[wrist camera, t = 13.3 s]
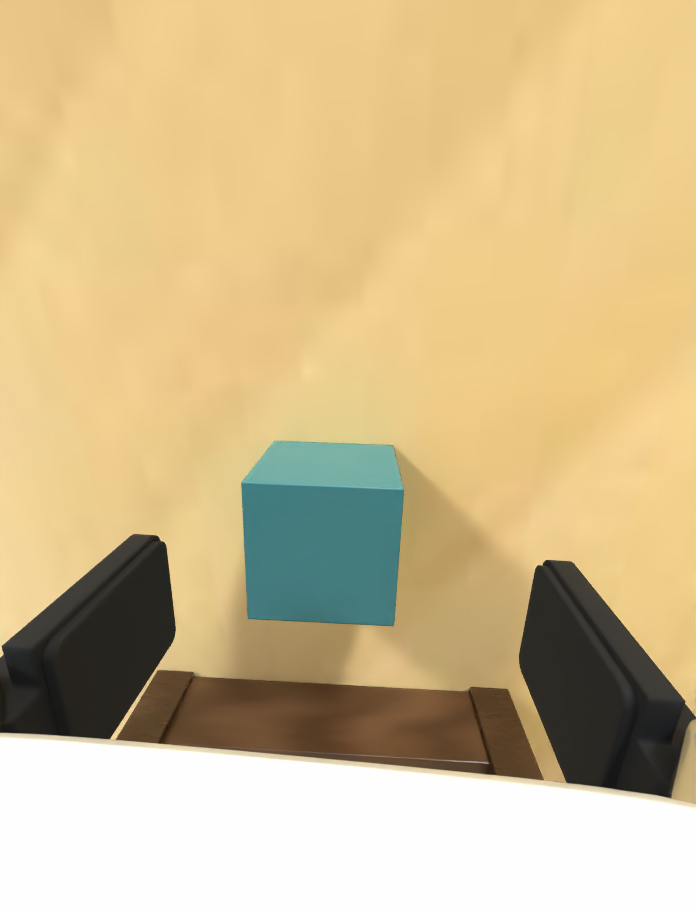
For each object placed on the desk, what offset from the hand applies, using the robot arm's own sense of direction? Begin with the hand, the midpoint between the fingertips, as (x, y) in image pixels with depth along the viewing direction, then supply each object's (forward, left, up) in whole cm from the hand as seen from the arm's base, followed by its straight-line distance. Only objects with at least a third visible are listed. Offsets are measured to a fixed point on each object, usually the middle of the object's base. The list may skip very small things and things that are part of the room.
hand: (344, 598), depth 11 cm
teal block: (+1, 0, -7) cm, 7 cm away
